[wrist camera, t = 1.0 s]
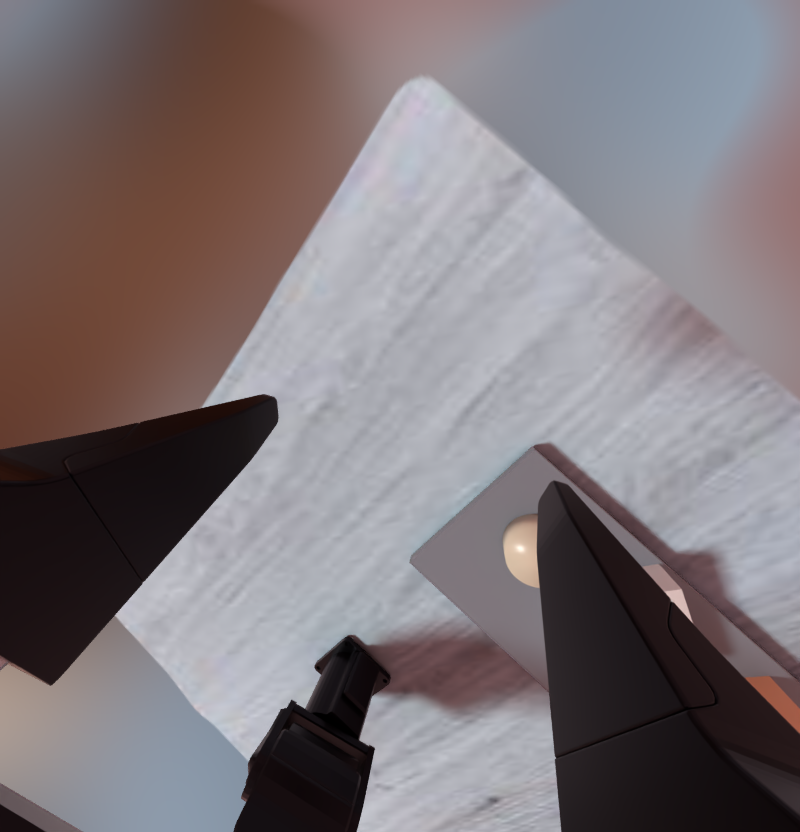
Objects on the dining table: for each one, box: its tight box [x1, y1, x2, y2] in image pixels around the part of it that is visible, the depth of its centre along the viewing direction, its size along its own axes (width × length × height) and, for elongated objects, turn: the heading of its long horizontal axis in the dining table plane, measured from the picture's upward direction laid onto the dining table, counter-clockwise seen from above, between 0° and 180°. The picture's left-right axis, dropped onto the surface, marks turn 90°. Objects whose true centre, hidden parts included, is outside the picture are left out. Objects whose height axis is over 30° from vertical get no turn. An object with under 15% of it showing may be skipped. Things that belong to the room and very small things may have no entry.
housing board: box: [410, 446, 800, 708], centre depth 23 cm, size 15×28×4 cm, turn 50°
